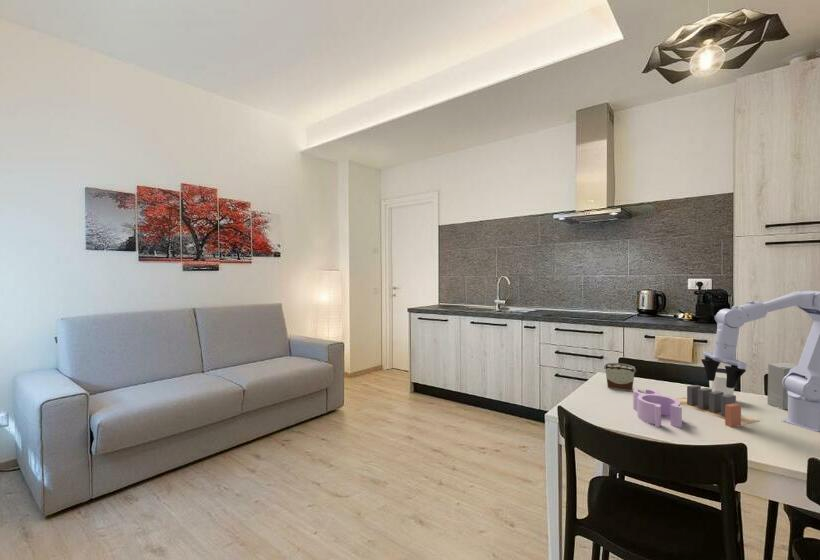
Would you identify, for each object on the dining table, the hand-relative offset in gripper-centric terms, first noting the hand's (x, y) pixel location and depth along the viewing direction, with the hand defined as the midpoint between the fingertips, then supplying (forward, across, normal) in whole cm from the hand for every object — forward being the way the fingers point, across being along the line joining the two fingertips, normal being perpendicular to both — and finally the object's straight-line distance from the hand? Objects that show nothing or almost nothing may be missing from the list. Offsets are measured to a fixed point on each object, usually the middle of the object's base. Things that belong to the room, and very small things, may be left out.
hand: (719, 384), depth 133 cm
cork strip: (+12, -8, +6) cm, 16 cm away
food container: (+15, -39, -8) cm, 42 cm away
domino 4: (+11, -2, +7) cm, 14 cm away
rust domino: (+12, +5, +2) cm, 13 cm away
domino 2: (+12, -10, +6) cm, 17 cm away
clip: (+15, -6, -17) cm, 24 cm away
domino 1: (+12, -14, +5) cm, 19 cm away
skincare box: (+9, -8, +36) cm, 38 cm away
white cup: (+11, -17, +19) cm, 28 cm away
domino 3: (+12, -6, +6) cm, 15 cm away
